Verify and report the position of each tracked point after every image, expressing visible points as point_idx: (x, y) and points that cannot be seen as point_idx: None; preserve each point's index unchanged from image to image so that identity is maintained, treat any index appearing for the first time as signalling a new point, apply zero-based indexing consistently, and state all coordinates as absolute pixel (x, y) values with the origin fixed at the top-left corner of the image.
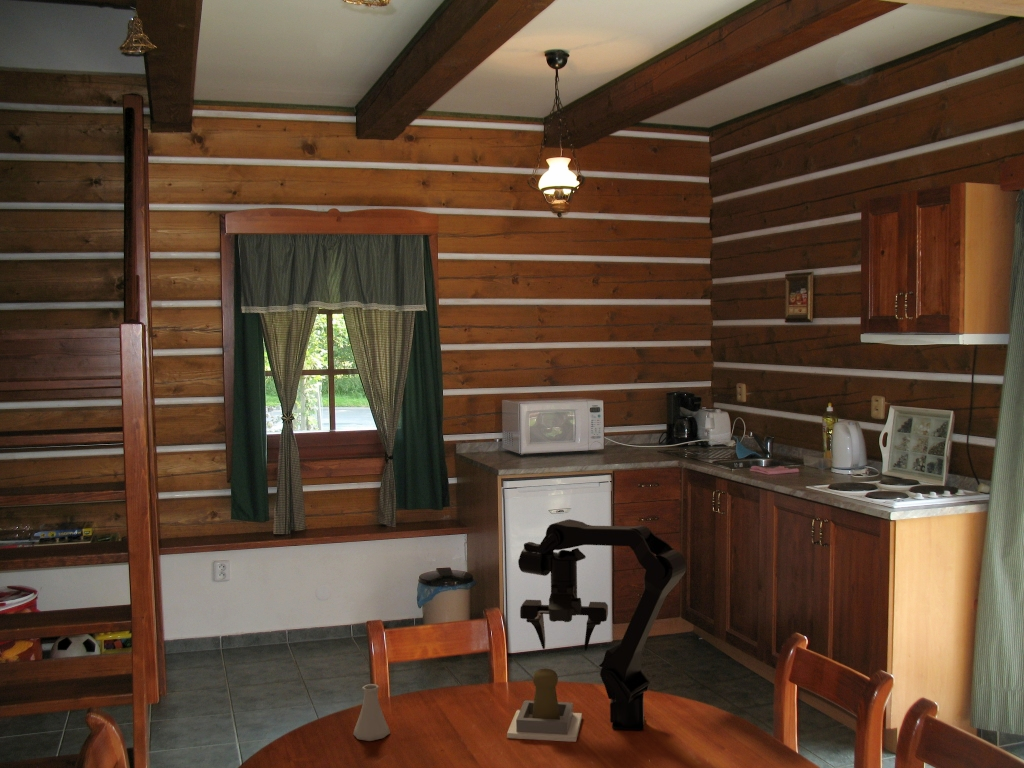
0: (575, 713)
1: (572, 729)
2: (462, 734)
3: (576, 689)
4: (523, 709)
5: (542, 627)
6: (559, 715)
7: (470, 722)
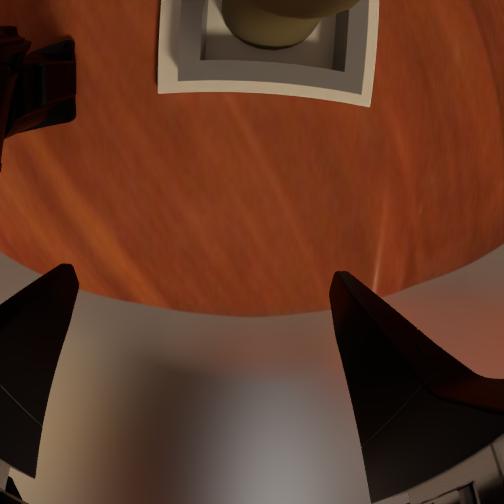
0: (177, 87)
1: None
2: (469, 13)
3: (206, 282)
4: (358, 16)
5: (392, 401)
6: (223, 5)
7: (464, 72)
